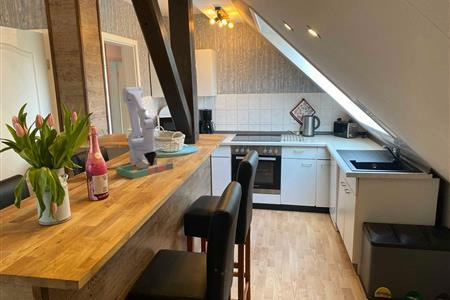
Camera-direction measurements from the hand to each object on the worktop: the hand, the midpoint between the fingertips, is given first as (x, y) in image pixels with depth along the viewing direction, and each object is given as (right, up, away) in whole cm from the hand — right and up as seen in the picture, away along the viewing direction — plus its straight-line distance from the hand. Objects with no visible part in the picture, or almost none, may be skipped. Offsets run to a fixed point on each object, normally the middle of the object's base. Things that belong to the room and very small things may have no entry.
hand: (150, 165), depth 179 cm
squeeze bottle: (-26, -5, -11) cm, 29 cm away
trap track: (-2, -2, -2) cm, 4 cm away
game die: (-3, -4, -6) cm, 8 cm away
